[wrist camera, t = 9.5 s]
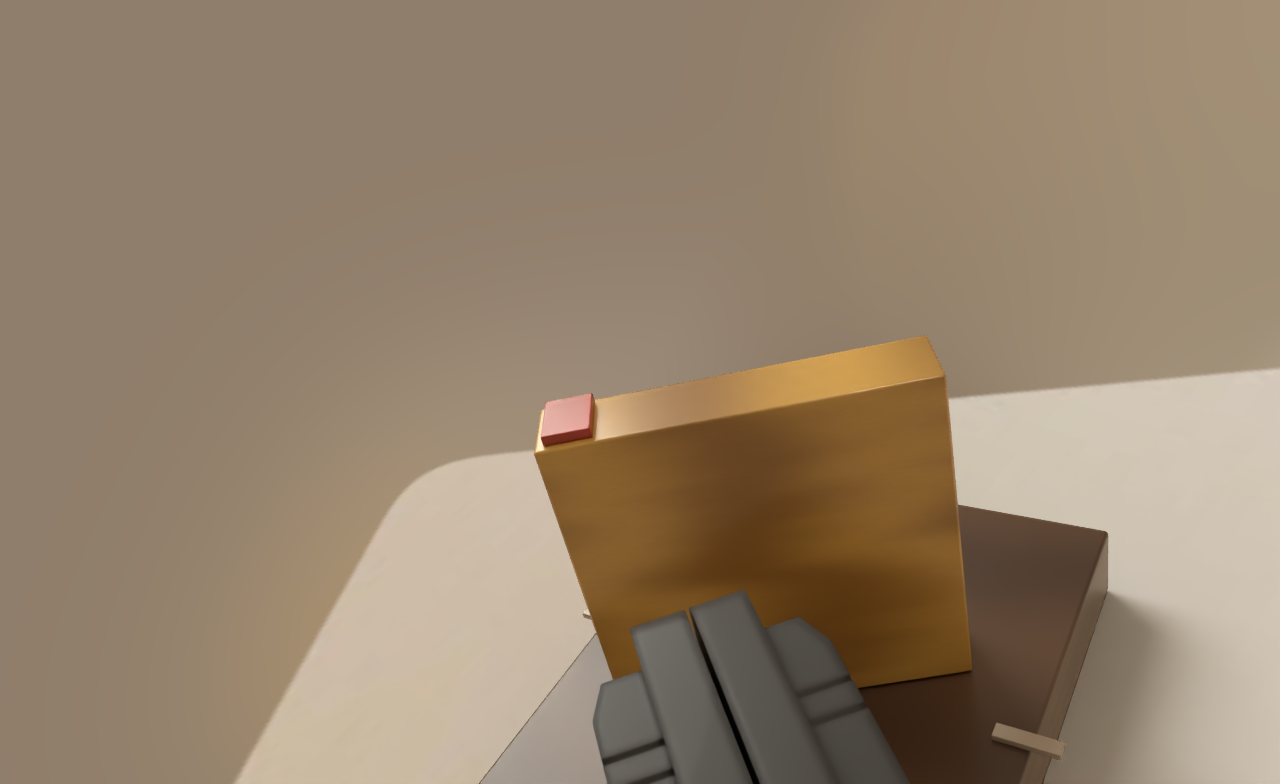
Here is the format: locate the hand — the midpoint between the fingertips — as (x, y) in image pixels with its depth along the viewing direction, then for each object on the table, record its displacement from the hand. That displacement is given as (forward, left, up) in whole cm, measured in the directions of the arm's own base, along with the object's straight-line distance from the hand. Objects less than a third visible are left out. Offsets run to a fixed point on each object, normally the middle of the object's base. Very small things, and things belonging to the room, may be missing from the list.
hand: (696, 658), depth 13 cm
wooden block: (-6, +6, -9) cm, 13 cm away
